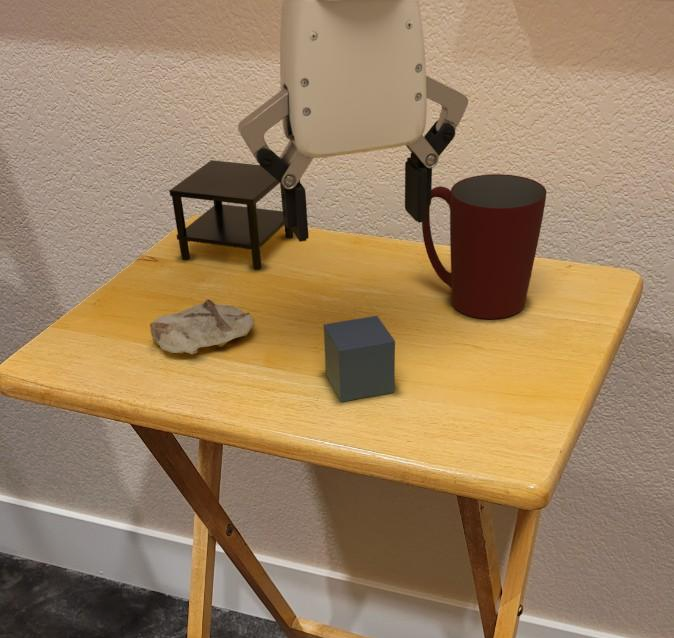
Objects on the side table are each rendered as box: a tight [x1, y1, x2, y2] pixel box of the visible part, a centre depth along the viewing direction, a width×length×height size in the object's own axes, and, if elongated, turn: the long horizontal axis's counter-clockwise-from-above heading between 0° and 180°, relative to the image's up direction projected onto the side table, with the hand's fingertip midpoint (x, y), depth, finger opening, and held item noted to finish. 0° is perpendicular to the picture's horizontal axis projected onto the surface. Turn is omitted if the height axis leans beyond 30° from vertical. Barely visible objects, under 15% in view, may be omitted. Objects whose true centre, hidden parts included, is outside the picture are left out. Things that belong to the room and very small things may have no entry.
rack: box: [169, 160, 295, 271], centre depth 99 cm, size 10×10×8 cm
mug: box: [421, 173, 547, 320], centre depth 87 cm, size 12×9×11 cm
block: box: [323, 315, 396, 403], centre depth 78 cm, size 5×5×5 cm
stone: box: [149, 298, 255, 355], centre depth 85 cm, size 10×7×3 cm
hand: (358, 225), depth 70 cm, fingers open, 9 cm apart
